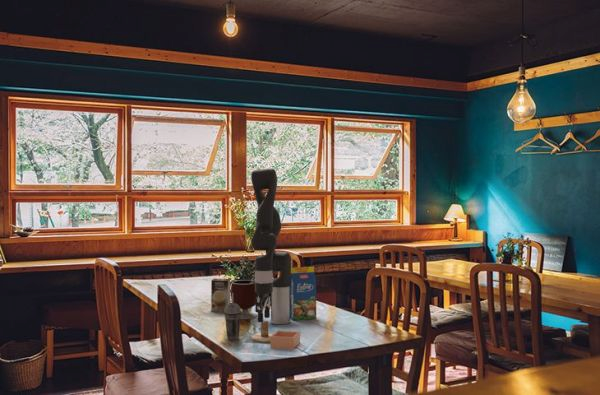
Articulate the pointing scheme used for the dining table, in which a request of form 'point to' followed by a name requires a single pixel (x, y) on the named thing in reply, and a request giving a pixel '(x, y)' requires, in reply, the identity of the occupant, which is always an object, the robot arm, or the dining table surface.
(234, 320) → the beverage cup
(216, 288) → the coffee box
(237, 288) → the mate gourd
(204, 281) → the dining table surface
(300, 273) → the blue food package
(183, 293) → the dining table surface
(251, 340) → the mat
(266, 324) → the lid
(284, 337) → the open wooden box
